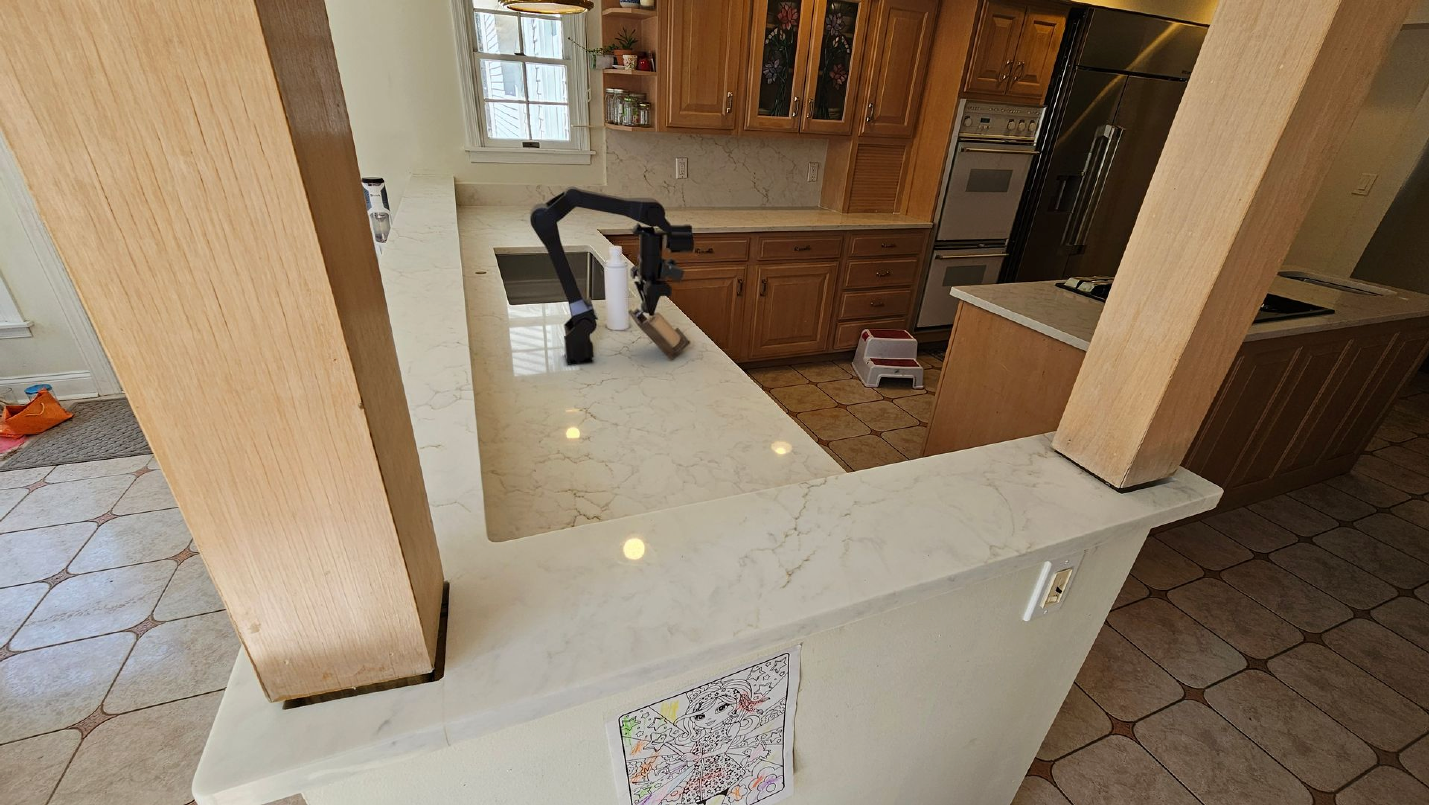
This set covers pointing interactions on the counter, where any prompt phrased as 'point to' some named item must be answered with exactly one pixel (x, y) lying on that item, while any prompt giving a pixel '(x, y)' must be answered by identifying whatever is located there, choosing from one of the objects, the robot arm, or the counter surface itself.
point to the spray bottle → (616, 290)
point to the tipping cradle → (655, 336)
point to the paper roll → (664, 329)
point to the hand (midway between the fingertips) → (649, 313)
